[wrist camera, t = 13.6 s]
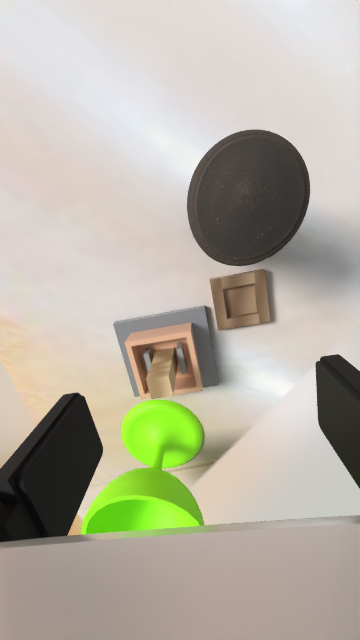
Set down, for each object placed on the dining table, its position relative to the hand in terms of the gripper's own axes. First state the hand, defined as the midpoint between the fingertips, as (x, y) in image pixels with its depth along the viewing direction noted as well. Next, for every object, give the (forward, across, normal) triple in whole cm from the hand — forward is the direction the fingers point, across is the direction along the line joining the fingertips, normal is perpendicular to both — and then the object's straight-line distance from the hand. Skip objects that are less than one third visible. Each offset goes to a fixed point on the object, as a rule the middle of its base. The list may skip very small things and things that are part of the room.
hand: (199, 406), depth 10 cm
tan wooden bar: (+28, +7, +11) cm, 31 cm away
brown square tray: (+30, -6, +4) cm, 31 cm away
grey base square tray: (+30, +7, +11) cm, 33 cm away
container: (+31, -5, -8) cm, 32 cm away
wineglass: (+31, +12, +28) cm, 43 cm away
